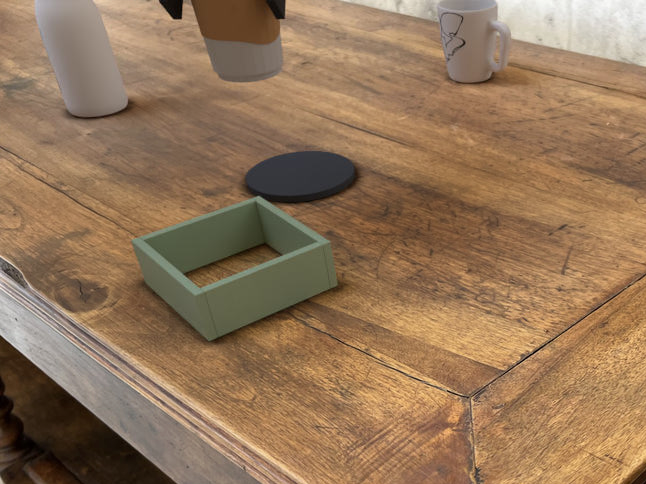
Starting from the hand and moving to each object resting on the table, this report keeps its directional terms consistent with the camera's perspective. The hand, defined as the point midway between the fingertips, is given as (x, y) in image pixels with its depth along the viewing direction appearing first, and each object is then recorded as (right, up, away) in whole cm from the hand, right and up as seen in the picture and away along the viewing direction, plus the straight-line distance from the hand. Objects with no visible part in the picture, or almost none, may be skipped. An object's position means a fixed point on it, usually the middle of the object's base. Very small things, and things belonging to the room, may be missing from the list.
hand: (223, 10), depth 68 cm
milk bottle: (-32, +6, +41) cm, 52 cm away
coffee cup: (0, -3, +7) cm, 7 cm away
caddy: (0, -23, +5) cm, 23 cm away
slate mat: (+1, -9, +22) cm, 24 cm away
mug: (+20, +13, +49) cm, 54 cm away
